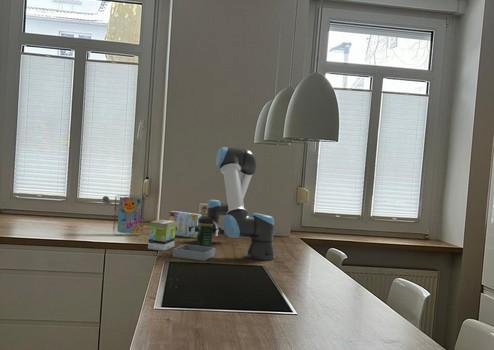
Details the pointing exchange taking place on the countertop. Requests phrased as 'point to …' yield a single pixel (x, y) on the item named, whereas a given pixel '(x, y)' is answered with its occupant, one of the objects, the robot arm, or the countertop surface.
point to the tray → (194, 252)
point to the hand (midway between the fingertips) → (204, 232)
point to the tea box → (162, 234)
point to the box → (128, 213)
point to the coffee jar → (204, 231)
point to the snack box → (184, 222)
